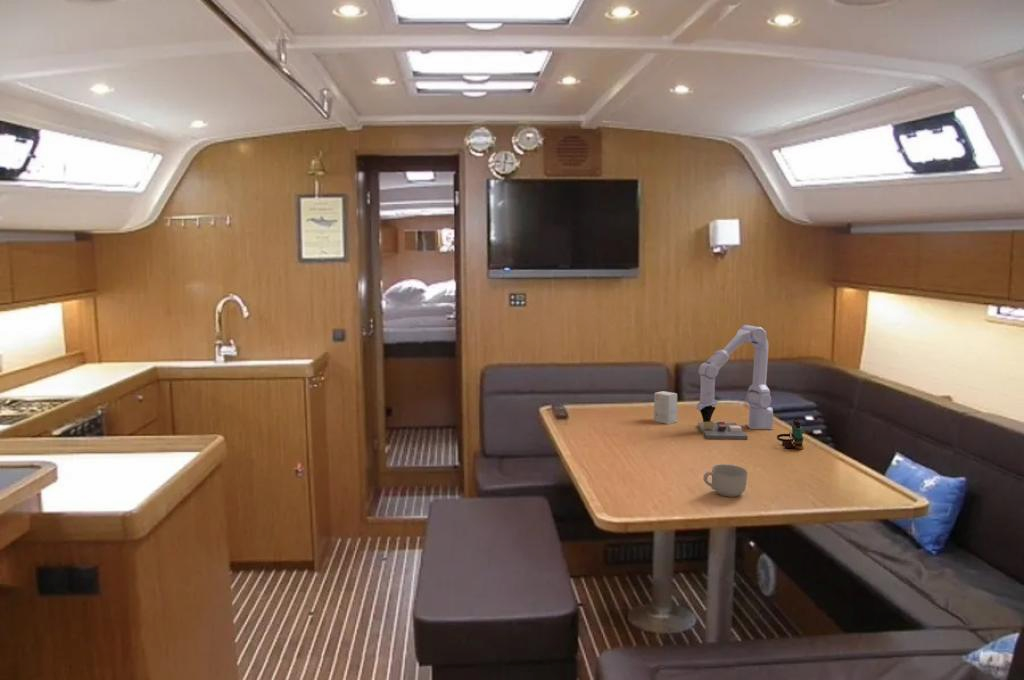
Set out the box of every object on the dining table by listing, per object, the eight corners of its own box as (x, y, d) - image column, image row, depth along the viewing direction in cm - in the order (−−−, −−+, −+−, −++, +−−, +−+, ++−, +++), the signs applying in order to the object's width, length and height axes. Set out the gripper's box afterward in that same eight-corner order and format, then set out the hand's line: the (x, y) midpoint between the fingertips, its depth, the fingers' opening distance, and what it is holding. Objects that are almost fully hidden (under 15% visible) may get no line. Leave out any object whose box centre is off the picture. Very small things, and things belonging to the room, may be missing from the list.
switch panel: (735, 426, 320) (735, 420, 320) (747, 439, 299) (747, 433, 298) (697, 425, 322) (698, 420, 322) (706, 439, 300) (706, 432, 300)
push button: (739, 430, 310) (739, 425, 309) (741, 432, 305) (741, 428, 305) (728, 430, 310) (728, 425, 310) (730, 432, 306) (730, 427, 306)
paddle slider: (712, 428, 310) (712, 421, 309) (713, 429, 308) (713, 422, 308) (702, 427, 310) (702, 420, 310) (703, 428, 308) (703, 421, 308)
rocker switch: (723, 424, 310) (724, 421, 310) (726, 429, 306) (726, 426, 305) (717, 424, 310) (717, 421, 310) (719, 429, 306) (719, 426, 305)
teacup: (740, 488, 239) (740, 463, 238) (751, 499, 229) (752, 474, 228) (697, 488, 239) (697, 464, 238) (706, 500, 228) (707, 474, 227)
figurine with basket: (774, 419, 292) (801, 417, 290) (776, 445, 293) (803, 444, 291) (777, 424, 283) (805, 422, 281) (779, 451, 284) (807, 450, 282)
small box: (677, 422, 329) (677, 393, 327) (668, 424, 325) (668, 395, 323) (662, 419, 335) (663, 390, 333) (653, 421, 331) (654, 392, 329)
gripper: (707, 395, 302) (706, 428, 303) (724, 390, 312) (723, 422, 314) (692, 393, 306) (691, 425, 308) (709, 388, 317) (708, 419, 319)
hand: (706, 423), depth 311 cm, fingers closed
